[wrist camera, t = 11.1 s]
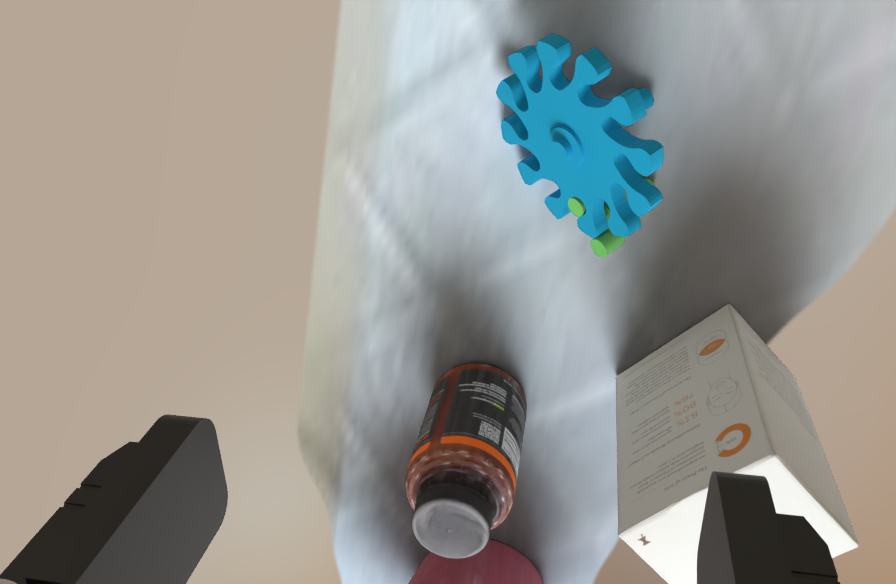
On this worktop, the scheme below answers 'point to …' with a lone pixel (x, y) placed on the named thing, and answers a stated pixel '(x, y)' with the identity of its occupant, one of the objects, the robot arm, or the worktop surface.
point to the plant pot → (479, 568)
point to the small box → (715, 442)
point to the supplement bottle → (466, 459)
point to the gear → (581, 140)
